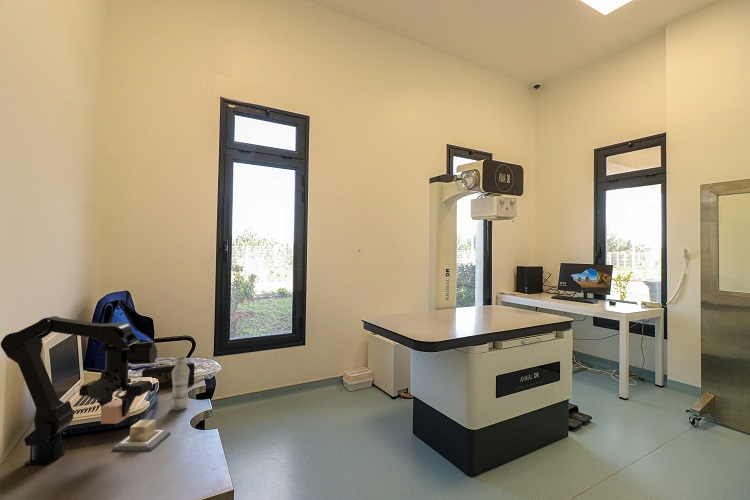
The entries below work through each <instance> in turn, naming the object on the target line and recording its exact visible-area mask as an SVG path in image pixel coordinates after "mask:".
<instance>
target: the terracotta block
mask: <svg viewBox="0 0 750 500" xmlns="http://www.w3.org/2000/svg"><path fill="white" fill-rule="evenodd" d="M130 408H131V407H130ZM130 408H129V410H128V412H127V414H126V416H124V417H122V400H121V399H112V401H111V402H109V403H107V404H105V405H103V406H100V409H101V410H100V424H104V425H105V424H109V425H110V424H112V425H113V424H114V425H115V424H119V423H120V422H123V421H124V420H126V419H127V418H129V417H130Z"/></svg>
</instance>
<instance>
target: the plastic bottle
mask: <svg viewBox="0 0 750 500" xmlns="http://www.w3.org/2000/svg"><path fill="white" fill-rule="evenodd" d="M186 364H187V357H184V356H183V357H182V356H181V357H177V358H175V365H176V366H175V367H174V369H173V370H172V382H173V388H172V391H171V392H172V393H171V398H170V403H169V404H170V409H171V410H172V411H181V410H184V409H186V408H187V407H188V405H189V403H190V401H189V393H188V386H189V385H187V384H188V378H189V372H190V370H189V367H188V366H187V365H186Z"/></svg>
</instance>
